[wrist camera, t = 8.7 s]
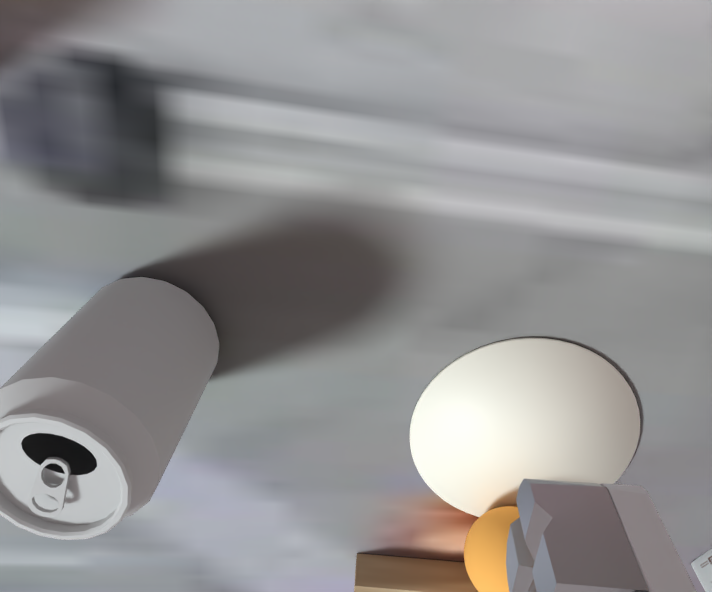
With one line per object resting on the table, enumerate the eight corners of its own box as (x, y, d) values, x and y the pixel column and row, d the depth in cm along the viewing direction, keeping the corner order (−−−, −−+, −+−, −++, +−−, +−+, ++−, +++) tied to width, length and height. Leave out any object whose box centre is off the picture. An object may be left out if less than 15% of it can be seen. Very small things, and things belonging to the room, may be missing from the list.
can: (238, 297, 33) (163, 441, 22) (206, 405, 36) (126, 577, 25) (100, 250, 32) (-47, 376, 22) (79, 365, 36) (-58, 525, 25)
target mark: (421, 328, 33) (421, 330, 33) (666, 347, 33) (667, 349, 33) (400, 510, 39) (400, 513, 39) (609, 528, 39) (610, 530, 38)
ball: (474, 508, 34) (471, 618, 33) (576, 515, 34) (577, 627, 33) (458, 498, 40) (455, 592, 38) (547, 504, 40) (546, 599, 38)
